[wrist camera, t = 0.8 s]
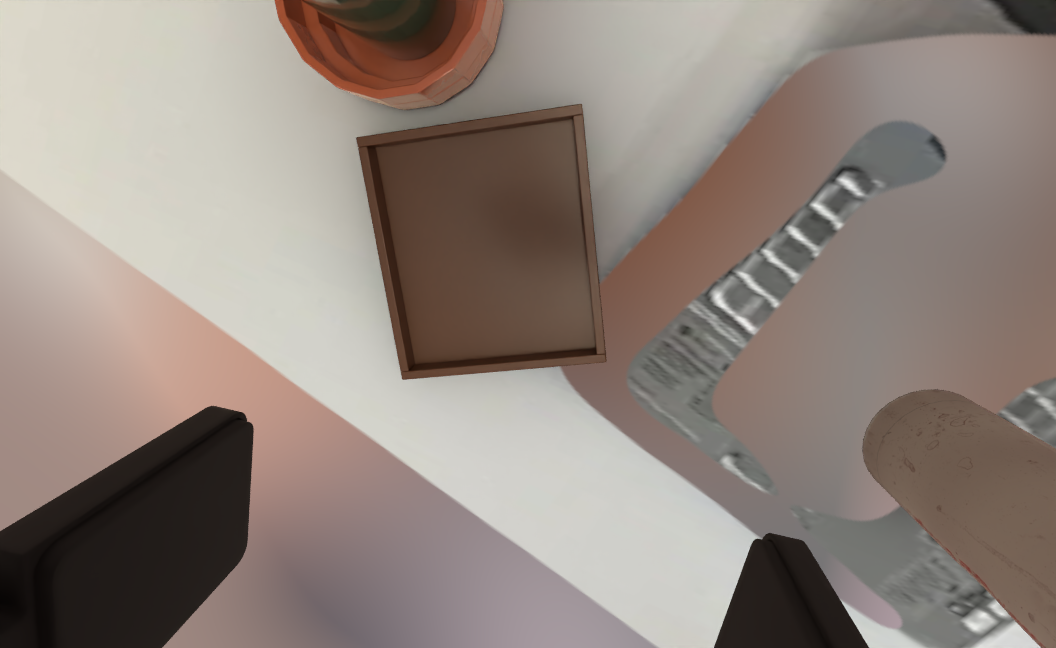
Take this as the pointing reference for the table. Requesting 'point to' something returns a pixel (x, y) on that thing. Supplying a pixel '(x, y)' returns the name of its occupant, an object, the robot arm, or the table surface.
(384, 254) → the tray
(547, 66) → the table surface
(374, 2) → the bottle
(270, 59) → the table surface
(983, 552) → the thermos bottle
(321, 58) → the bowl
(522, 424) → the table surface
